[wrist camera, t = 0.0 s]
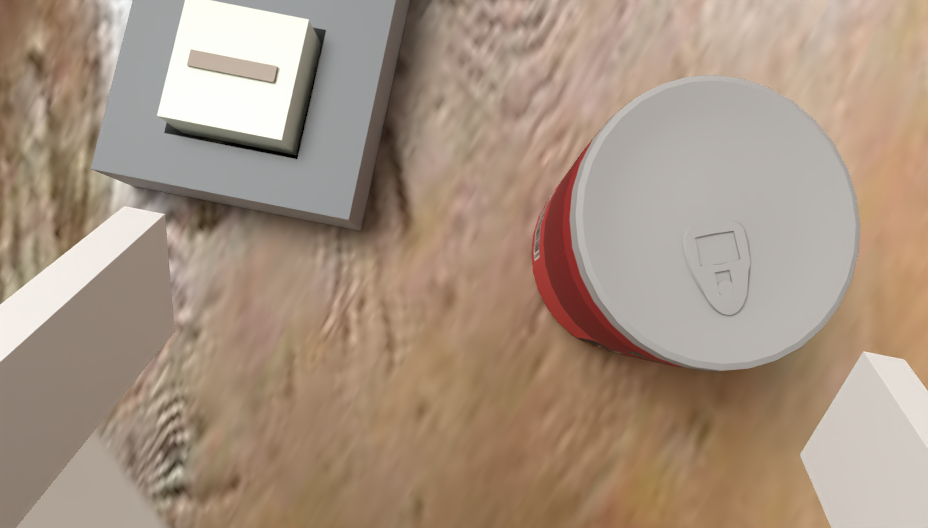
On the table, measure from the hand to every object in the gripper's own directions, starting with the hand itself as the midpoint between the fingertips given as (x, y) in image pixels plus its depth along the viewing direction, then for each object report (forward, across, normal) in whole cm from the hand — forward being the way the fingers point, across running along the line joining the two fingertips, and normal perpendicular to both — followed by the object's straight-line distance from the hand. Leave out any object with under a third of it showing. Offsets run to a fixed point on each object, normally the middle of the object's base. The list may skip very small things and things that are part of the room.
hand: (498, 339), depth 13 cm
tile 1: (+15, +11, +1) cm, 18 cm away
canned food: (+15, -5, +6) cm, 17 cm away
